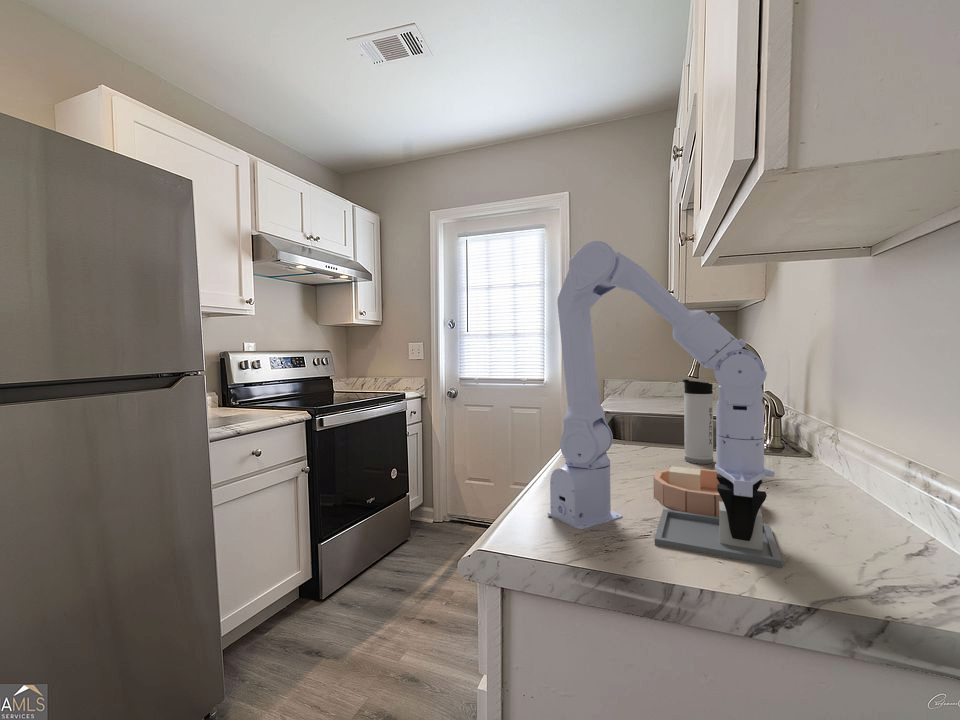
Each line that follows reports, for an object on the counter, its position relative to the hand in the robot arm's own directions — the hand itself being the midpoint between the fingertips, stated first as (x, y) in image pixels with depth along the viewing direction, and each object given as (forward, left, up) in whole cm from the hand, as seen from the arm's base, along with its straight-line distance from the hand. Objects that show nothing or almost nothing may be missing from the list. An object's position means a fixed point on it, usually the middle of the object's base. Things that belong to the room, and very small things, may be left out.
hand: (739, 532), depth 61 cm
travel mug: (+37, +31, -2) cm, 48 cm away
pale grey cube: (0, 0, -1) cm, 1 cm away
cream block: (+10, +15, -1) cm, 18 cm away
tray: (-2, +3, -2) cm, 4 cm away
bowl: (+11, +13, -2) cm, 17 cm away
